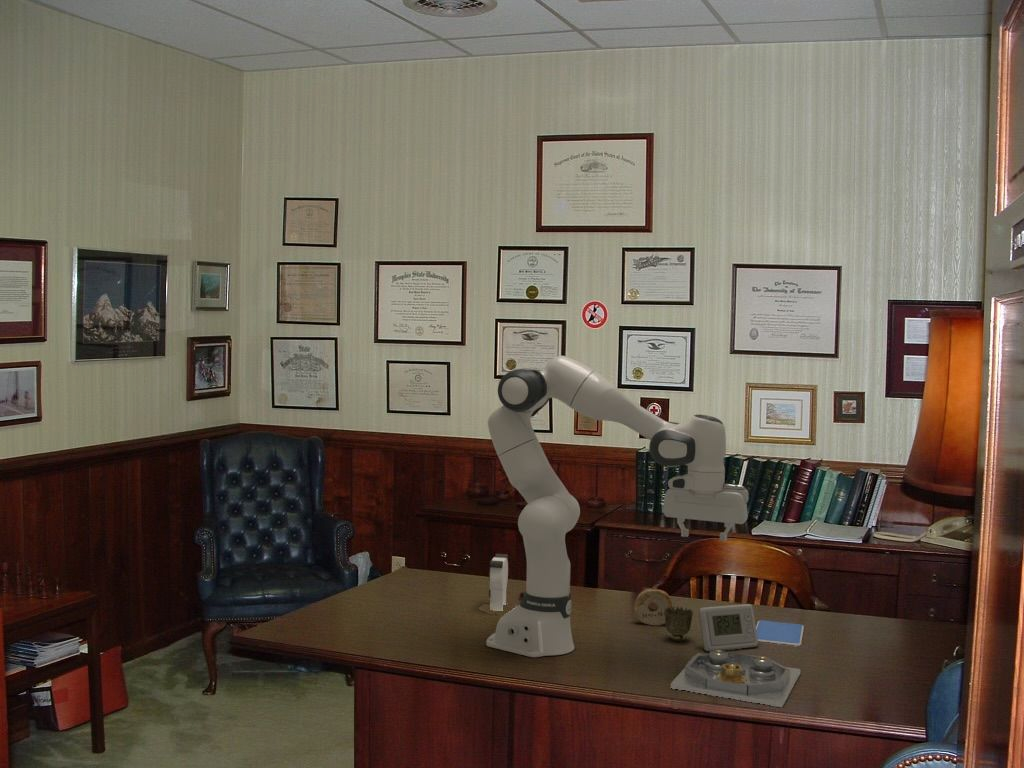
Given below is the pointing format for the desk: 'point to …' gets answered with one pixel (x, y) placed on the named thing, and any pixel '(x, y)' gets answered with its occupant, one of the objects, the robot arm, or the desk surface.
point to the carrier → (762, 675)
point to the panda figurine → (498, 581)
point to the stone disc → (646, 612)
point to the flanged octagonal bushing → (732, 674)
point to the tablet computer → (779, 632)
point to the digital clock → (728, 627)
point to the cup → (678, 622)
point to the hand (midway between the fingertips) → (703, 538)
